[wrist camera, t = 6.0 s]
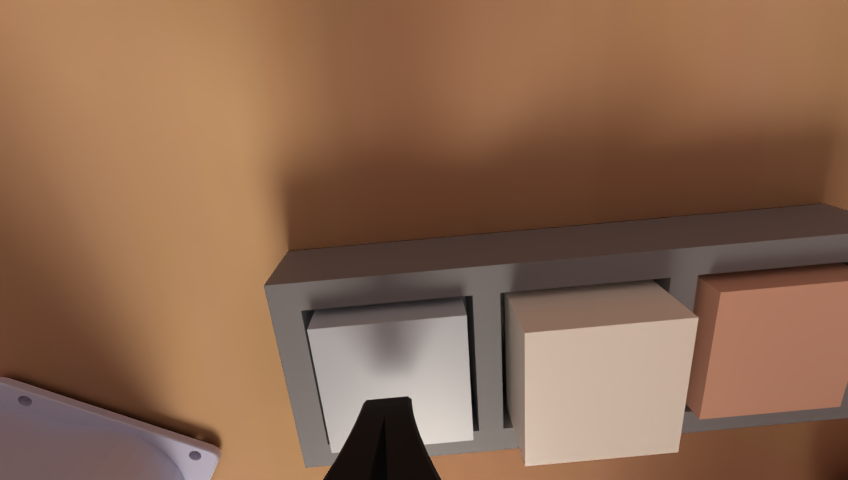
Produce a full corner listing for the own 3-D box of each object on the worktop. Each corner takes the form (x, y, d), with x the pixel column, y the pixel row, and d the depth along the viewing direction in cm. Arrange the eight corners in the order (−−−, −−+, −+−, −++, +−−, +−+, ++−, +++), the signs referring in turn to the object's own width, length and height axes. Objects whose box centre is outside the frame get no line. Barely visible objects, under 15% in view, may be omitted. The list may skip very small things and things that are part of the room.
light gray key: (342, 399, 18) (331, 453, 15) (323, 289, 16) (307, 329, 14) (463, 388, 18) (473, 440, 15) (457, 277, 16) (466, 315, 14)
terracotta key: (657, 370, 18) (699, 419, 16) (670, 258, 16) (720, 292, 14) (777, 359, 18) (840, 406, 16) (803, 246, 16) (878, 278, 14)
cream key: (506, 406, 17) (524, 466, 14) (504, 289, 15) (524, 333, 13) (636, 394, 17) (678, 452, 14) (648, 276, 15) (698, 317, 13)
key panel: (320, 411, 19) (305, 467, 17) (288, 251, 17) (263, 285, 14) (784, 369, 19) (847, 418, 17) (823, 203, 17) (907, 228, 14)
